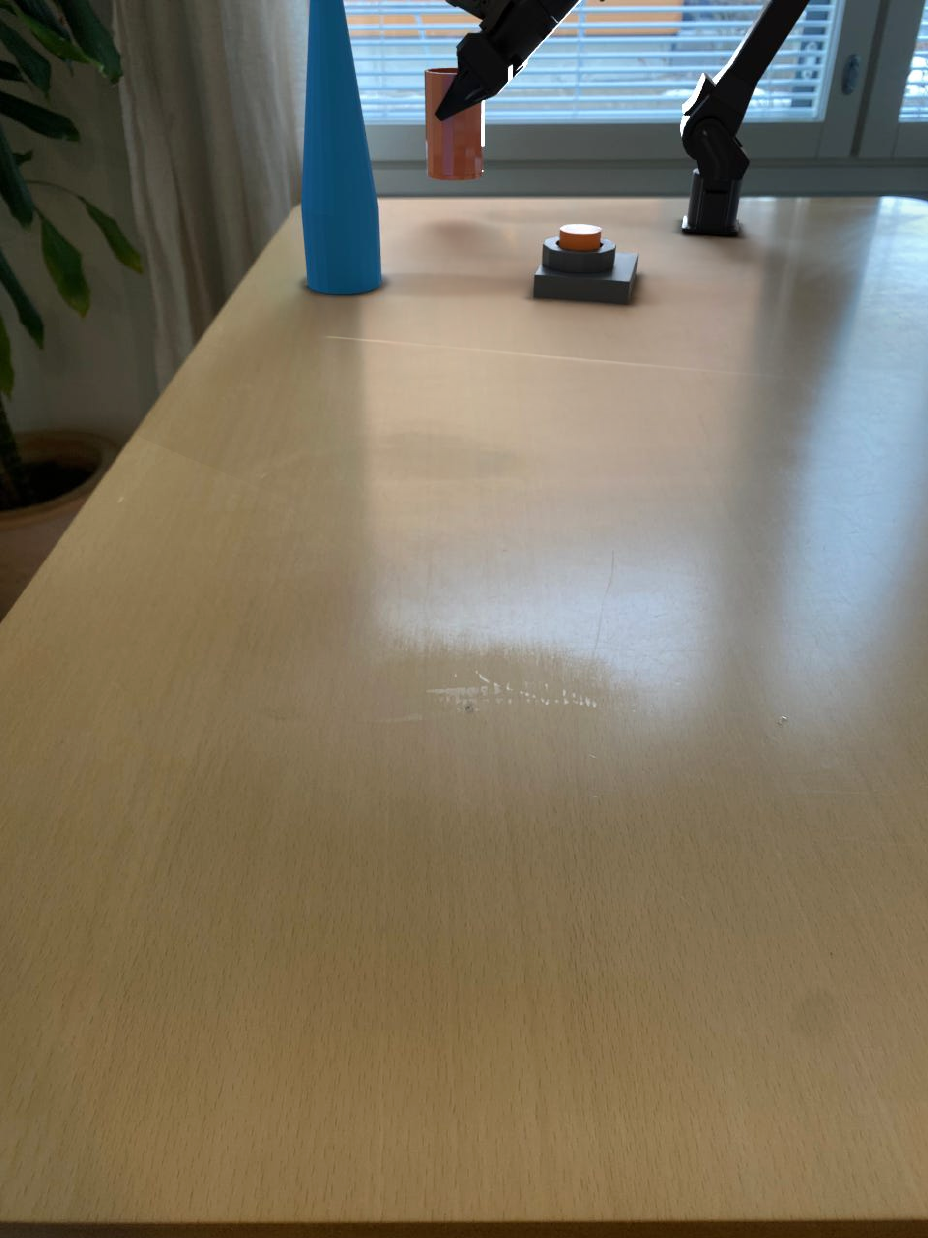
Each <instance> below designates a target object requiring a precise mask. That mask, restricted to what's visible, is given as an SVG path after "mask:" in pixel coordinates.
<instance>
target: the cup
mask: <svg viewBox="0 0 928 1238" xmlns="http://www.w3.org/2000/svg"><path fill="white" fill-rule="evenodd" d="M457 72H458V66H445V67H431V68H427V69H424V71H423V73H424V111H425V112H424V117H425V168H426V169H425V170H426V176H427V177H428V178H430V179H433V180H436V181H437V180H438V181H439V180H440V181H445V182H447V181H448V182H462V181H471V180H477V179H481V178H482V177H483V176H484V170H485V108H486V107H485V103H486V100H485V101H483V102H481V103H479V104H476V105H474V106H472V107H470V108H468V109H466V110H464V111H462V112H460V113H458V114H456V115H454V116H452V117H449V118H447V119H445V120H443V121H439V119H438V118H437V117H436V116H435V112H436V110H437V108H438V107H439V105H440V103H441V101H442V99H443V98H444V96H445V94H446V92H447V90H448V89H449V87H450V85H451V83H452V82H453V80H454V78H455V76H456V74H457Z"/></svg>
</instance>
